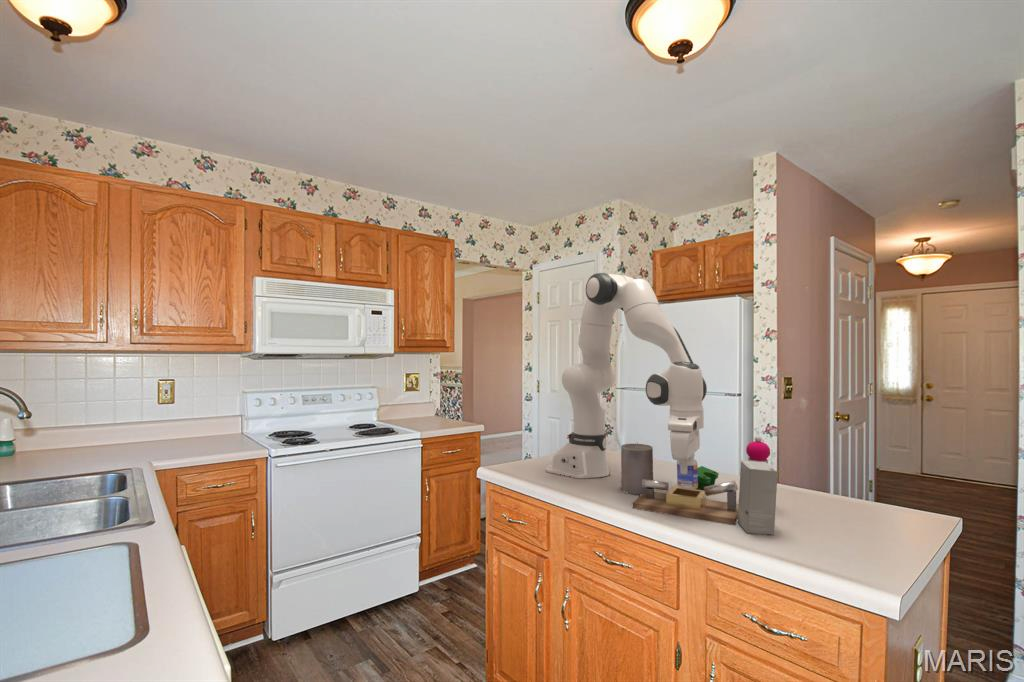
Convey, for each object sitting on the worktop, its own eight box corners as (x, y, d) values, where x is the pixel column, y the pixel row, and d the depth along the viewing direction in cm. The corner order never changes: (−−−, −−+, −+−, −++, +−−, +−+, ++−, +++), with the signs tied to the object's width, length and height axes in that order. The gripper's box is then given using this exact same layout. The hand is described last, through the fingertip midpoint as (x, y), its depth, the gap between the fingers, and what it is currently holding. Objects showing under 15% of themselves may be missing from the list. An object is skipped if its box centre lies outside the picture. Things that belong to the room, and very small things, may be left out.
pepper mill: (746, 502, 143) (746, 432, 143) (775, 507, 139) (774, 435, 139) (741, 509, 137) (741, 436, 138) (771, 514, 133) (770, 439, 133)
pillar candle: (636, 484, 162) (635, 438, 162) (660, 491, 154) (659, 442, 154) (614, 489, 157) (614, 441, 157) (638, 497, 148) (637, 446, 149)
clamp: (702, 505, 154) (704, 483, 150) (683, 497, 158) (685, 474, 154) (718, 484, 162) (721, 462, 158) (700, 477, 166) (702, 455, 162)
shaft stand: (632, 508, 138) (632, 474, 138) (646, 495, 150) (646, 464, 150) (734, 525, 125) (734, 487, 125) (741, 509, 137) (740, 475, 137)
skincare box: (736, 522, 127) (736, 459, 127) (767, 523, 126) (766, 460, 126) (746, 534, 118) (746, 467, 119) (779, 536, 117) (778, 468, 118)
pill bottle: (698, 490, 134) (697, 454, 134) (676, 488, 136) (676, 452, 136) (697, 485, 139) (697, 450, 139) (677, 483, 141) (676, 449, 141)
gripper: (682, 415, 148) (682, 462, 148) (666, 424, 131) (666, 477, 130) (704, 417, 145) (705, 465, 145) (691, 426, 127) (691, 480, 127)
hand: (686, 471), depth 137 cm, fingers closed on pill bottle, 5 cm apart
